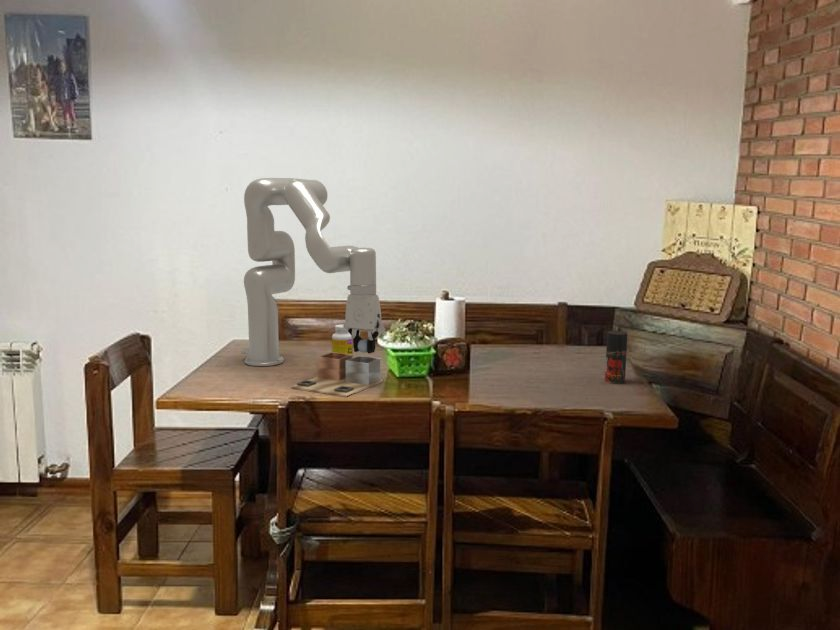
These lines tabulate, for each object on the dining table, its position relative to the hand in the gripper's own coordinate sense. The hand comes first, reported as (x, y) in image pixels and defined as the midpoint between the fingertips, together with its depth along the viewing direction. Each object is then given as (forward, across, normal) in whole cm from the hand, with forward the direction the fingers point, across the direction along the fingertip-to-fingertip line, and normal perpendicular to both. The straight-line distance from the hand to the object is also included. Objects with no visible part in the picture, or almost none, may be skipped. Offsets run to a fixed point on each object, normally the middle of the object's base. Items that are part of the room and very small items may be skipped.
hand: (364, 351), depth 240 cm
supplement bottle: (+9, -18, +16) cm, 26 cm away
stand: (+9, -6, -6) cm, 12 cm away
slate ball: (-2, 0, 0) cm, 2 cm away
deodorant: (+11, +64, +39) cm, 76 cm away
